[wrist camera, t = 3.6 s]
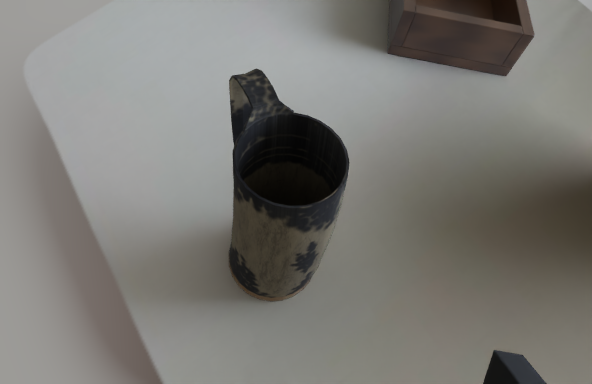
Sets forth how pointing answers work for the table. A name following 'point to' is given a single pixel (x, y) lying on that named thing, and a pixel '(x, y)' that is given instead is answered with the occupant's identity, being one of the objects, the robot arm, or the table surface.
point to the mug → (280, 190)
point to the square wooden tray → (461, 32)
